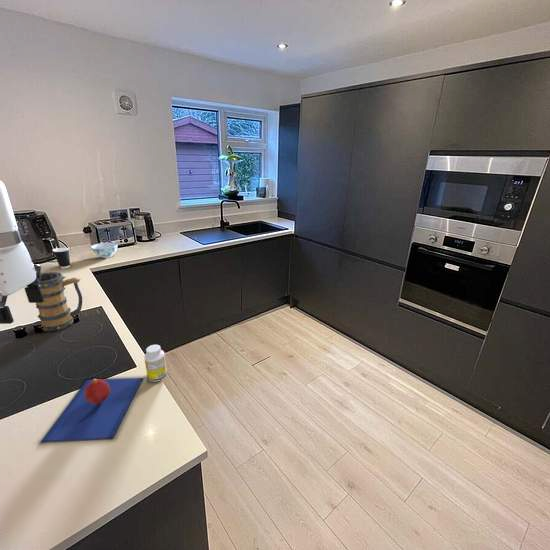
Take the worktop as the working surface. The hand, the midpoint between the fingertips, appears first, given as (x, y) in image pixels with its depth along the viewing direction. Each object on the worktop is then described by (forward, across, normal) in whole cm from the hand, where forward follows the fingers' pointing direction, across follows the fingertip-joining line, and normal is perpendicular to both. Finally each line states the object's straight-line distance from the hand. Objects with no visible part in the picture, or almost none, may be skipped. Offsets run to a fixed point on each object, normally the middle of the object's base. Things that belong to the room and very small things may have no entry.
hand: (22, 311), depth 66 cm
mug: (+28, -43, -22) cm, 56 cm away
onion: (+28, 0, +12) cm, 31 cm away
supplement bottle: (+28, -10, +24) cm, 39 cm away
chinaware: (+28, -128, -44) cm, 138 cm away
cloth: (+28, +1, +12) cm, 31 cm away
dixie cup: (+28, -108, -59) cm, 126 cm away
